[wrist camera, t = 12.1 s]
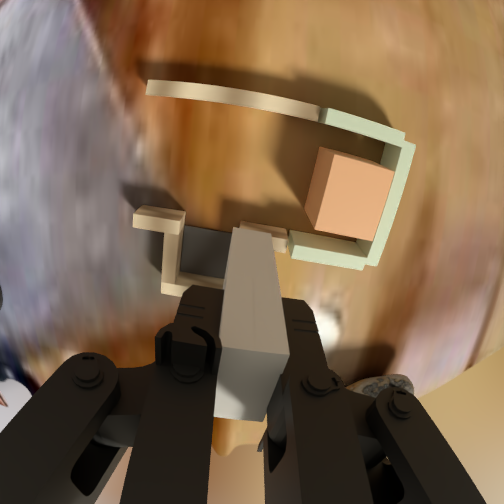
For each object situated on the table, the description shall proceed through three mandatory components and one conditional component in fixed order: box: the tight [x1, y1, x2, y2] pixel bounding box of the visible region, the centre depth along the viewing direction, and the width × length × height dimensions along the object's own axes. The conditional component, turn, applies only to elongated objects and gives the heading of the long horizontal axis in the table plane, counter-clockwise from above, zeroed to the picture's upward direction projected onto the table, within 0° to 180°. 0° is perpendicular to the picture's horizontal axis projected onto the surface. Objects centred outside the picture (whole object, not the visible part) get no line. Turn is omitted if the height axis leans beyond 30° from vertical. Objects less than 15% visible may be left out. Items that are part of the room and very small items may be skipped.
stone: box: [346, 374, 414, 398], centre depth 42 cm, size 11×21×10 cm, turn 112°
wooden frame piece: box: [133, 80, 321, 297], centre depth 31 cm, size 16×22×3 cm
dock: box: [288, 108, 416, 270], centre depth 30 cm, size 10×15×4 cm, turn 169°
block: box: [304, 146, 394, 241], centre depth 29 cm, size 6×7×6 cm
